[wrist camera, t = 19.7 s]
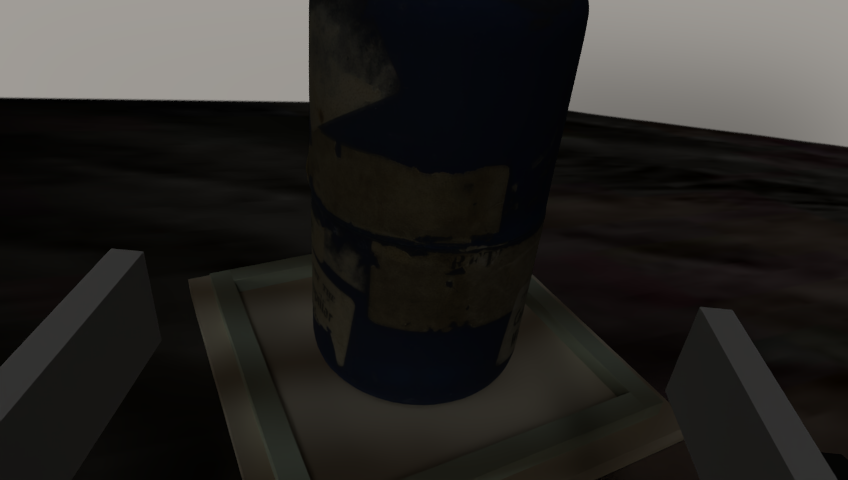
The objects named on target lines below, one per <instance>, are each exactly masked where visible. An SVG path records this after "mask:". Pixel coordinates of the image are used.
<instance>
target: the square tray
mask: <svg viewBox="0 0 848 480" xmlns="http://www.w3.org/2000/svg"><path fill="white" fill-rule="evenodd" d="M188 281H189V287H190V293H191V297H192V301H193V305H194V308H195V312H196V315H197V319H198V323H199V326H200V330H201V333H202V337H203V340H204V344H205V348H206V351H207V355H208V358H209V362H210V366H211V369H212V373H213V376H214V380H215V384H216V387H217V391H218V394H219V398H220V401H221V405H222V409H223V412H224V416H225V419H226V423H227V427H228V430H229V434H230V437H231V441H232V445H233V448H234V452H235V455H236V459H237V462H238V466H239V470H240V473H241V477H242V480H596V479H598V478H600V477H603V476H605V475H607V474H609V473H611V472H614V471H616V470H618V469H620V468H623V467H625V466H627V465H629V464H631V463H634V462H636V461H638V460H640V459H642V458H645V457H647V456H649V455H651V454H654V453H656V452H658V451H660V450H662V449H665V448H667V447H669V446H671V445H673V444H676V443H678V442H680V441H682V440H684V437H683V435H682V432H681V430H680V427H679V425H678V422H677V420H676V417H675V415H674V412H673V409H672V407H671V404H670V403H669V402H668V401H667V400H666V399H665V398H664V397H663V396H661V395H660V394H659V393H658V392H657V391H656V390H655V389H654V388H653V387H652V386H651V385H650V384H649V383H648V382H646V381H645V380H644V379H643V378H642V377H641V376H640V375H639V374H638V373H637V372H636V371H635V370H634V369H633V368H632V367H630V366H629V365H628V364H627V363H626V362H625V361H624V360H623V359H622V358H621V357H620V356H619V355H618V354H617V353H616V352H614V351H613V350H612V349H611V348H610V347H609V346H608V345H607V344H606V343H605V342H604V341H603V340H602V339H601V338H599V337H598V336H597V335H596V334H595V333H594V332H593V331H592V330H591V329H590V328H589V327H588V326H587V325H586V324H585V323H583V322H582V321H581V320H580V319H579V318H578V317H577V316H576V315H575V314H574V313H573V312H572V311H571V310H570V309H568V308H567V307H566V306H565V305H564V304H563V303H562V302H561V301H560V300H559V299H558V298H557V297H556V296H555V295H554V294H552V293H551V292H550V291H549V290H548V289H547V288H546V287H545V286H544V285H543V284H542V283H541V282H540V281H539V280H538V279H536V278H535V277H534V276H533V275H532V276H531V281H530V285H529V289H528V292H527V297H526V301H525V306H524V311H523V315H522V318H521V323H520V327H519V332H518V337H517V341H516V345H515V348H514V351H513V354H512V356H511V358H510V360H509V362H508V364H507V366H506V367H505V369H504V370H503V371H502V373H501V374H500V375H499V376H498V377H497V378H496V379H495V380H494V381H493V382H492V383H491V384H490V385H488V386H487V387H485V388H484V389H482V390H480V391H479V392H477V393H475V394H473V395H471V396H468V397H466V398H464V399H460V400H456V401H452V402H448V403H442V404H435V405H409V404H401V403H395V402H390V401H386V400H383V399H379V398H376V397H374V396H371V395H369V394H366V393H364V392H362V391H360V390H358V389H356V388H355V387H353V386H352V385H350V384H349V383H347V382H346V381H344V380H343V379H342V378H341V377H339V376H338V375H337V374H336V373H335V372H334V371H333V370H332V369H331V368H330V367H329V366H328V364H327V363H326V362H325V360H324V358H323V356H322V354H321V352H320V350H319V348H318V346H317V342H316V339H315V334H314V329H313V302H312V254H310V255H304V256H299V257H294V258H289V259H284V260H278V261H273V262H268V263H263V264H258V265H252V266H247V267H242V268H237V269H232V270H226V271H221V272H216V273H211V274H210V275H209V276H204V277H199V278H193V279H188Z"/></svg>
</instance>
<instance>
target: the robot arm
mask: <svg viewBox="0 0 848 480" xmlns="http://www.w3.org/2000/svg"><path fill="white" fill-rule="evenodd" d="M160 342H161V337H160V332H159V327H158V322H157V317H156V312H155V307H154V302H153V297H152V292H151V287H150V282H149V277H148V272H147V267H146V262H145V257H144V252H141V251H130V250H120V249H110V250H109V251H108V252H107V254H106V255H105V256H104V257H103V258H102V259H101V260H100V261H99V262H98V263H97V264H96V265H95V266H94V267H93V269H92V270H91V271H90V272H89V273H88V274H87V275H86V276H85V277H84V278H83V279H82V280H81V281H80V282H79V283H78V285H77V286H76V287H75V288H74V289H73V290H72V291H71V292H70V293H69V294H68V295H67V296H66V297H65V298H64V299H63V301H62V302H61V303H60V304H59V305H58V306H57V307H56V308H55V309H54V310H53V311H52V312H51V313H50V314H49V315H48V317H47V318H46V319H45V320H44V321H43V322H42V323H41V324H40V325H39V326H38V327H37V328H36V329H35V330H34V331H33V333H32V334H31V335H30V336H29V337H28V338H27V339H26V340H25V341H24V342H23V343H22V344H21V345H20V346H19V347H18V349H17V350H16V351H15V352H14V353H13V354H12V355H11V356H10V357H9V358H8V359H7V360H6V361H5V362H4V364H3V365H2V366H1V367H0V480H72V478H73V477H74V475H75V474H76V472H77V470H78V469H79V467H80V466H81V464H82V463H83V461H84V460H85V458H86V456H87V455H88V453H89V452H90V450H91V449H92V447H93V446H94V444H95V443H96V441H97V439H98V438H99V436H100V435H101V433H102V432H103V430H104V429H105V427H106V425H107V424H108V422H109V421H110V419H111V418H112V416H113V415H114V413H115V412H116V410H117V408H118V407H119V405H120V404H121V402H122V401H123V399H124V398H125V396H126V394H127V393H128V391H129V390H130V388H131V387H132V385H133V384H134V382H135V381H136V379H137V377H138V376H139V374H140V373H141V371H142V370H143V368H144V367H145V365H146V363H147V362H148V360H149V359H150V357H151V356H152V354H153V353H154V351H155V349H156V348H157V346H158V345H159V343H160ZM665 392H666V394H667V397H668V399H669V402H670V404H671V407H672V409H673V412H674V415H675V417H676V420H677V422H678V425H679V427H680V430H681V432H682V435H683V437H684V440H685V443H686V445H687V448H688V450H689V453H690V455H691V458H692V460H693V463H694V465H695V468H696V471H697V473H698V476H699V478H700V480H848V460H847V459H846V458H845V457H844V456H843V455H842V454H832V453H822V452H820V451H819V449H818V447H817V446H816V444H815V442H814V441H813V439H812V438H811V436H810V434H809V433H808V431H807V430H806V428H805V426H804V425H803V423H802V421H801V420H800V418H799V417H798V415H797V413H796V412H795V410H794V409H793V407H792V405H791V404H790V402H789V400H788V399H787V397H786V396H785V394H784V392H783V391H782V389H781V388H780V386H779V384H778V383H777V381H776V380H775V378H774V376H773V375H772V373H771V371H770V370H769V368H768V367H767V365H766V363H765V362H764V360H763V359H762V357H761V355H760V354H759V352H758V350H757V349H756V347H755V346H754V344H753V342H752V341H751V339H750V338H749V336H748V334H747V333H746V331H745V329H744V328H743V326H742V325H741V323H740V321H739V320H738V318H737V317H736V315H735V313H734V312H733V310H726V309H716V308H706V307H700V308H699V310H698V313H697V315H696V318H695V320H694V322H693V325H692V327H691V330H690V332H689V334H688V337H687V339H686V342H685V344H684V346H683V349H682V351H681V354H680V356H679V358H678V361H677V363H676V366H675V368H674V370H673V373H672V375H671V378H670V380H669V382H668V385H667V387H666V390H665Z"/></svg>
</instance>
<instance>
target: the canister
mask: <svg viewBox="0 0 848 480" xmlns="http://www.w3.org/2000/svg"><path fill="white" fill-rule="evenodd" d="M588 15H589V2H588V0H309V103H310V141H309V152H308V158H307V163H306V172H307V180H308V183H309V185H310V188H311V191H312V201H311V226H312V238H311V239H312V302H313V329H314V334H315V339H316V342H317V346H318V348H319V350H320V352H321V354H322V356H323V358H324V360H325V362H326V363H327V364H328V366H329V367H330V368H331V369H332V370H333V371H334V372H335V373H336V374H337V375H338V376H339V377H341V378H342V379H343V380H344V381H346V382H347V383H349V384H350V385H352V386H353V387H355V388H356V389H358V390H360V391H362V392H364V393H366V394H369V395H371V396H374V397H376V398H379V399H383V400H386V401H390V402H395V403H401V404H409V405H435V404H442V403H448V402H452V401H456V400H460V399H464V398H466V397H468V396H471V395H473V394H475V393H477V392H479V391H480V390H482V389H484V388H485V387H487V386H488V385H490V384H491V383H492V382H493V381H494V380H495V379H496V378H497V377H498V376H499V375H500V374H501V373H502V371H503V370H504V369H505V367H506V366H507V364H508V362H509V360H510V358H511V356H512V354H513V351H514V348H515V345H516V341H517V337H518V332H519V327H520V323H521V318H522V315H523V311H524V306H525V301H526V297H527V292H528V289H529V285H530V281H531V276H532V271H533V266H534V262H535V257H536V253H537V249H538V244H539V240H540V236H541V232H542V227H543V223H544V219H545V213H546V204H547V200H548V195H549V191H550V186H551V181H552V177H553V172H554V168H555V163H556V159H557V155H558V151H559V147H560V142H561V138H562V133H563V129H564V125H565V121H566V116H567V111H568V107H569V103H570V98H571V93H572V90H573V85H574V80H575V76H576V72H577V67H578V63H579V59H580V54H581V50H582V45H583V41H584V36H585V31H586V26H587V20H588Z"/></svg>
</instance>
